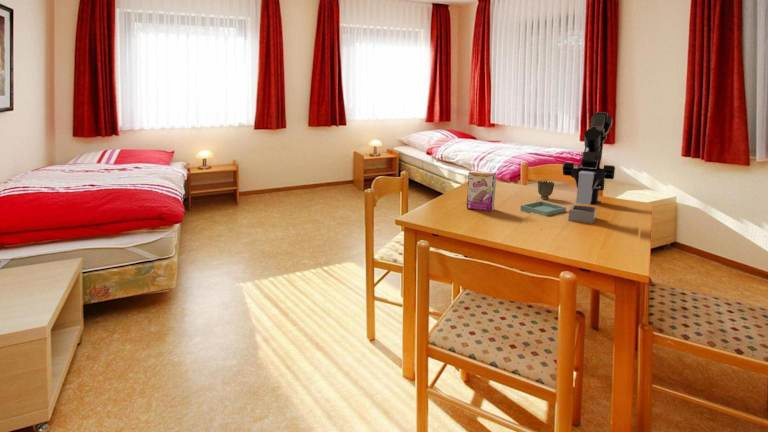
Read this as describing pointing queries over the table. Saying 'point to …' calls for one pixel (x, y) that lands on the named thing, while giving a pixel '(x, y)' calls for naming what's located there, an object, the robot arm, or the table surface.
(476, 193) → the candy bar box
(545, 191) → the cup
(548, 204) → the tray
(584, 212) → the holder
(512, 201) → the table surface
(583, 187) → the block
